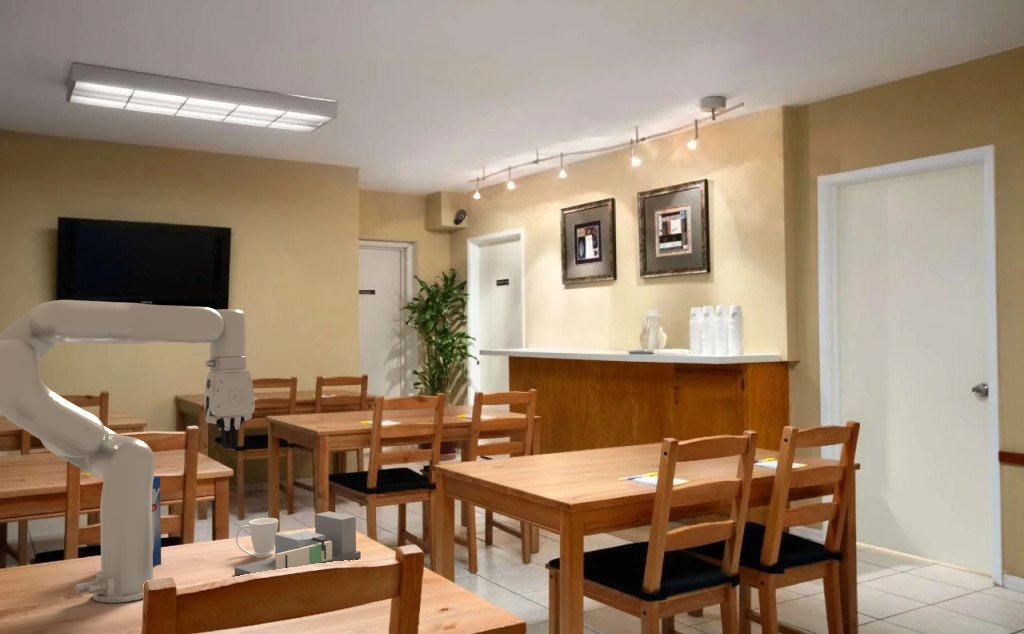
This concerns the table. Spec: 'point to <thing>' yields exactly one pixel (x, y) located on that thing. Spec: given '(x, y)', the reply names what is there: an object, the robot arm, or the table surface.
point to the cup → (261, 536)
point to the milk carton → (156, 521)
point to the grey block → (297, 541)
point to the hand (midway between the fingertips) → (229, 447)
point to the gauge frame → (315, 546)
